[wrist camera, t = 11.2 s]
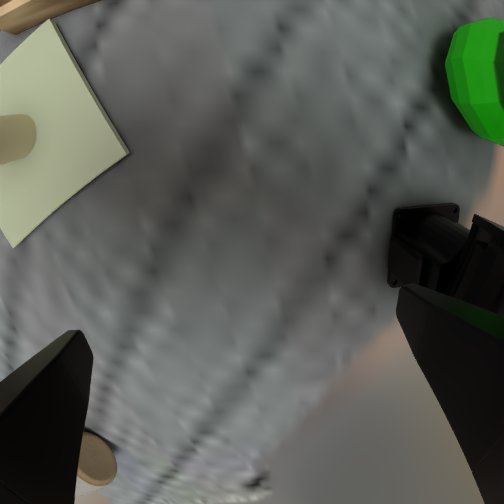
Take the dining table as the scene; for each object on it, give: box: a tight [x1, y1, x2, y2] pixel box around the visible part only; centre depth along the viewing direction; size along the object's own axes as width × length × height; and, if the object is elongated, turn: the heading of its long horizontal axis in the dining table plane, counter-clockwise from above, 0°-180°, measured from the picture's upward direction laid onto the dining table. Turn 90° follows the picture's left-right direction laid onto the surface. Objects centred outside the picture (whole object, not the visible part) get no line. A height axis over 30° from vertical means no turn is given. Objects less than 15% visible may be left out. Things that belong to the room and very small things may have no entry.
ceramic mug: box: [75, 432, 117, 497], centre depth 25 cm, size 11×8×8 cm
